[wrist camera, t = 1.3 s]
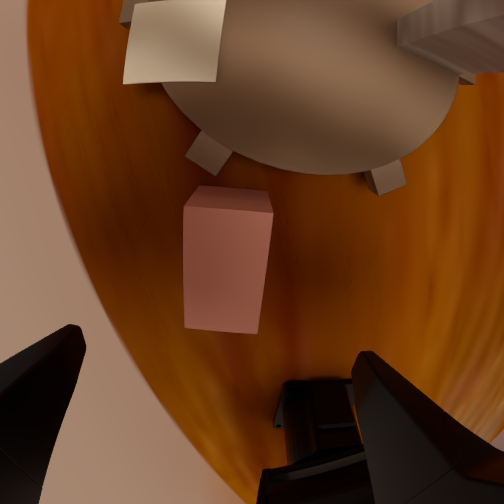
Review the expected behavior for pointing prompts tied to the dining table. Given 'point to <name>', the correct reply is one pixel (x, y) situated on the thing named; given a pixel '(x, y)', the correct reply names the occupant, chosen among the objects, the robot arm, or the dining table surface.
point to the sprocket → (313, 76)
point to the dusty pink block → (225, 257)
